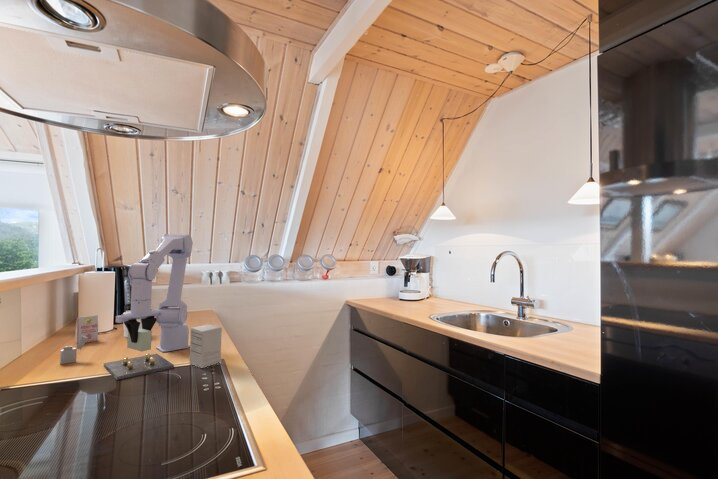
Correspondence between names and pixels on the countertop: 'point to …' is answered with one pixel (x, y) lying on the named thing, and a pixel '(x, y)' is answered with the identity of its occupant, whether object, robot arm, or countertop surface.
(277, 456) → the countertop surface
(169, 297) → the robot arm
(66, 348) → the lighter
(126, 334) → the white cup
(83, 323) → the printed carton
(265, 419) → the countertop surface
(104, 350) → the countertop surface
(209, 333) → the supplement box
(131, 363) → the standoff plate
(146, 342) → the sage block
